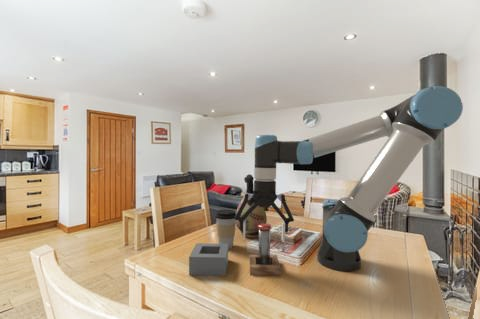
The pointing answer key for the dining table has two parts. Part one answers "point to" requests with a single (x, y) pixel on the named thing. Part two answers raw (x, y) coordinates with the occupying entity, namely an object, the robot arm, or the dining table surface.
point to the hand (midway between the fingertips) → (263, 240)
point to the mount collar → (264, 266)
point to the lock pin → (264, 244)
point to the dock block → (209, 259)
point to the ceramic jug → (255, 216)
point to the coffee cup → (226, 226)
